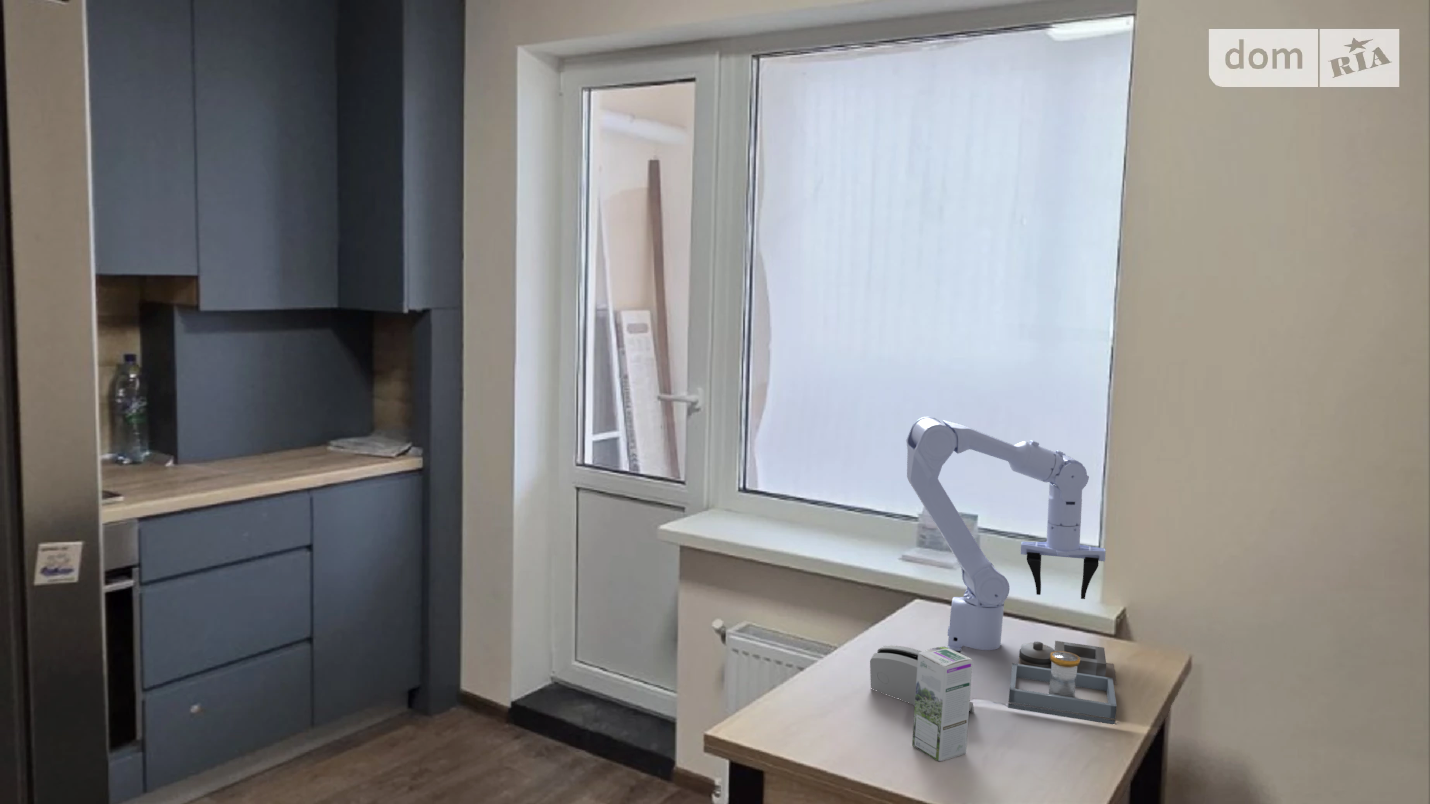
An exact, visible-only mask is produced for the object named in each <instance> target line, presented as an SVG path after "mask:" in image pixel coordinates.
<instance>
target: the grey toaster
mask: <svg viewBox="0 0 1430 804" xmlns="http://www.w3.org/2000/svg"><path fill="white" fill-rule="evenodd" d="M919 652H922V650H919V649H915V648H913V647H908V646H902V645H892V644H891V645H882V646H881V647H880V648H878V650H877V651H876V652H875V653H874V654H872V656H871V658H870V661H869V668H870V673H869V674H870V689H871V688H872V689H874V690H877V691H879V692H882V693H884V694H883V695H885V694H887V695H886V696H888V695H890V696H893V697H895V698H894V699H896V698H899V699H901V700H903V701H902V702H904V701H906V702H905V703H907V702H909V703H911V704H910V705H912V704H913V706H915V695H916V679H917V663H918V653H919ZM874 690H873V691H874ZM877 691H876V692H877ZM879 692H878V693H879ZM882 693H881V694H882ZM890 696H889V697H890ZM893 697H892V698H893ZM899 699H898V700H899ZM901 700H900V701H901ZM909 703H908V704H909ZM969 711H970V712H969V713H972V712H973V713H975V709H974V703H973V702H972V701H970V703H969Z"/></svg>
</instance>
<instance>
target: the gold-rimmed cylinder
mask: <svg viewBox="0 0 1430 804" xmlns="http://www.w3.org/2000/svg"><path fill="white" fill-rule="evenodd" d="M1050 660H1051V661H1052V663H1051V673H1050V682H1049V686H1048V694H1053V695H1059V696H1065V697H1072V698H1075V693H1076V687H1077V686H1076V676H1077V666H1078V665H1079V664H1080V657H1079V656H1077V655H1075V654H1073V653H1070V652H1064V651H1055V652H1052V653H1051V654H1050Z"/></svg>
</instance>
